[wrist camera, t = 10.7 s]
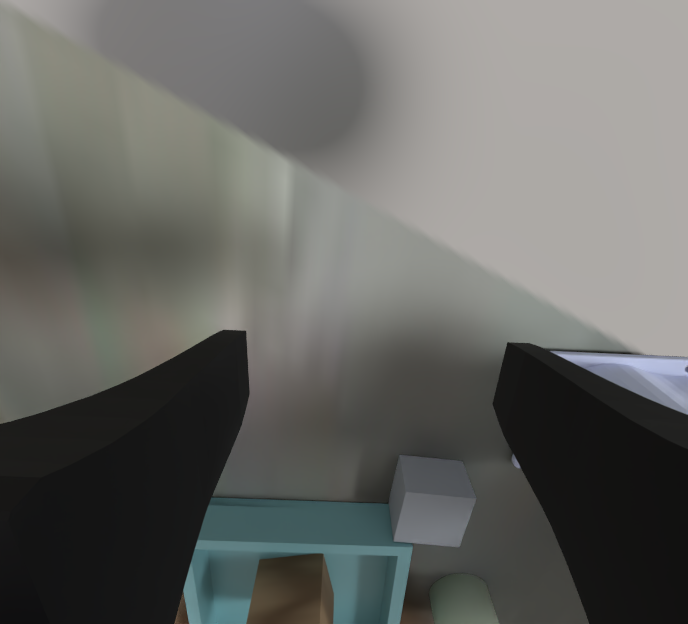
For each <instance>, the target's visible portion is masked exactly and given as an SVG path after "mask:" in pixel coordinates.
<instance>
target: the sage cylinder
mask: <svg viewBox="0 0 688 624" xmlns="http://www.w3.org/2000/svg"><path fill="white" fill-rule="evenodd" d="M429 598H430V603H431V609H432V614H433V619H434V624H499V622H498V619H497V616H496V612H495V609H494V606H493V603H492V600H491V597H490V594H489V591H488V588H487V585H486V583H485V582H484V581H483V580H482V579H481V578H479V577H477V576H475V575H471V574H464V573H459V574H452V575H448V576H445V577H443V578H441V579H439V580H437V581H436V582H435V583H434V584H433V585H432V586H431V588H430V591H429Z"/></svg>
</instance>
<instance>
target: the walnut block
mask: <svg viewBox="0 0 688 624" xmlns="http://www.w3.org/2000/svg"><path fill="white" fill-rule="evenodd" d="M333 614H334V592H333V588H332V584H331V581H330V577H329V573H328V569H327V565H326V561H325V557H324V554H322V553H316V554H307V555H297V556H288V557H278V558H268V559H259V564H258V569H257V573H256V578H255V583H254V588H253V593H252V598H251V603H250V608H249V613H248V617H247V622H246V624H333Z"/></svg>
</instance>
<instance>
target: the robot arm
mask: <svg viewBox="0 0 688 624" xmlns="http://www.w3.org/2000/svg"><path fill="white" fill-rule="evenodd" d="M686 366H688V357H677V356H654V355H631V354H608V353H585V352H562V351H548V350H546V349H543V348H541V347H538V346H536V345H533V344H530V343H509V342H507V347H506V351H505V355H504V359H503V363H502V367H501V372H500V376H499V380H498V384H497V388H496V392H495V396H494V401H493V406H494V409H495V412H496V415H497V418H498V421H499V424H500V426H501V429H502V432H503V434H504V437H505V439H506V441H507V442H508V444H509V446H510V448H511V450H512V452H513V456H512V462H513V464H514V466H515V467H517V468H521V469H522V471H523V473H524V474H525V476H526V478H527V480H528V482H529V484H530V486H531V487H532V489H533V491H534V493H535V495H536V497H537V499H538V500H539V502H540V504H541V506H542V508H543V510H544V512H545V514H546V516H547V518H548V520H549V522H550V524H551V526H552V529H553V531H554V533H555V536H556V538H557V541H558V543H559V546H560V548H561V550H562V553H563V555H564V558H565V560H566V563H567V565H568V567H569V570H570V573H571V575H572V578H573V581H574V583H575V586H576V588H577V591H578V594H579V596H580V599H581V602H582V604H583V607H584V610H585V612H586V615H587V618H588V621H589V624H688V367H686ZM248 398H249V376H248V359H247V341H246V331H236V330H222V331H220V332H218V333H216V334H214V335H212V336H210V337H209V338H207V339H205V340H203V341H202V342H200V343H198V344H196V345H195V346H193V347H191V348H190V349H188V350H186V351H184V352H183V353H181V354H179V355H177V356H176V357H174V358H172V359H170V360H168V361H166V362H164V363H162V364H160V365H159V366H157V367H155V368H153V369H151V370H149V371H147V372H145V373H143V374H141V375H139V376H137V377H135V378H133V379H131V380H128V381H126V382H124V383H122V384H119V385H117V386H114V387H112V388H110V389H107V390H105V391H102V392H100V393H97V394H95V395H92V396H90V397H87V398H84V399H81V400H78V401H75V402H72V403H69V404H66V405H63V406H60V407H57V408H54V409H51V410H48V411H45V412H42V413H39V414H36V415H32V416H29V417H25V418H22V419H18V420H15V421H11V422H7V423H3V424H0V624H174V622H175V619H176V615H177V611H178V607H179V603H180V600H181V596H182V593H183V589H184V585H185V582H186V578H187V575H188V571H189V568H190V564H191V561H192V557H193V554H194V550H195V547H196V544H197V540H198V537H199V534H200V530H201V527H202V524H203V520H204V517H205V514H206V511H207V508H208V506H209V503H210V500H211V497H212V495H213V493H214V490H215V488H216V485H217V483H218V481H219V478H220V476H221V473H222V471H223V469H224V466H225V464H226V461H227V459H228V457H229V454H230V452H231V449H232V447H233V445H234V442H235V440H236V437H237V435H238V432H239V430H240V427H241V425H242V421H243V417H244V414H245V410H246V406H247V402H248Z"/></svg>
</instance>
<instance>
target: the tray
mask: <svg viewBox="0 0 688 624" xmlns="http://www.w3.org/2000/svg"><path fill="white" fill-rule="evenodd" d="M412 550H413V545H412V543H406V542H395V541H393V534H392V526H391V518H390V509H389V504H380V503H352V502H325V501H297V500H269V499H241V498H213V497H211V500H210V503H209V506H208V508H207V511H206V514H205V517H204V520H203V524H202V527H201V530H200V534H199V537H198V540H197V544H196V547H195V550H194V554H193V557H192V561H191V564H190V568H189V571H188V575H187V578H186V582H185V585H184V589H183V592H184V597H185V603H186V609H187V614H188V620H189V624H246V622H247V617H248V613H249V608H250V603H251V598H252V593H253V588H254V583H255V578H256V573H257V569H258V564H259V559H268V558H278V557H288V556H297V555H307V554H316V553H322V554H324V557H325V561H326V565H327V569H328V573H329V577H330V581H331V584H332V588H333V592H334V614H333V624H400V619H401V613H402V607H403V601H404V596H405V590H406V584H407V578H408V573H409V567H410V561H411V555H412Z"/></svg>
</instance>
